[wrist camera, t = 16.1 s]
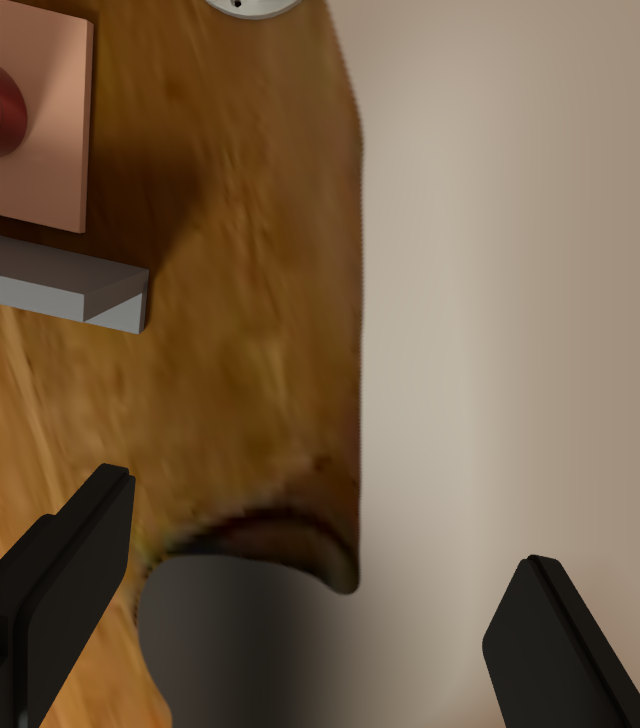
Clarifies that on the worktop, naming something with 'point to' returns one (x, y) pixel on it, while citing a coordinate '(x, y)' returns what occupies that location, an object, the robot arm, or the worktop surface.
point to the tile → (48, 115)
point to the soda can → (11, 115)
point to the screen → (72, 285)
